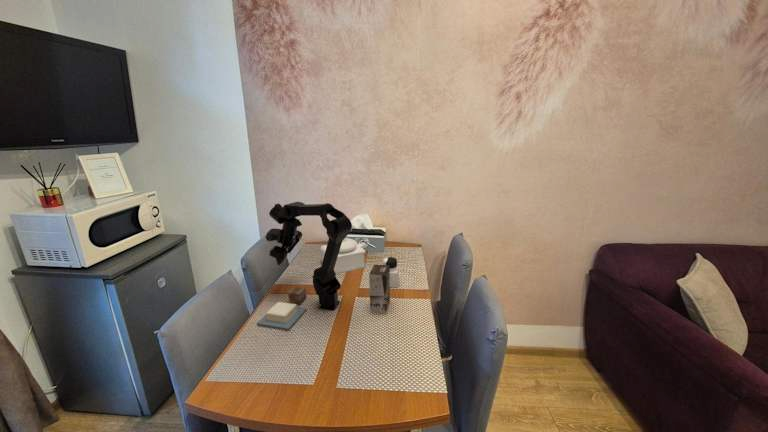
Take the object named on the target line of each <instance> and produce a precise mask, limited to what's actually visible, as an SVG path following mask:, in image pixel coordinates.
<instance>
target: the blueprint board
mask: <svg viewBox="0 0 768 432" xmlns="http://www.w3.org/2000/svg"><path fill="white" fill-rule="evenodd" d="M307 311H308V309H307V307H300V306H298V305H297V304H291V303H289V302H282V301H277V302H276V303H275V304H274V305H273V306H272V307H271V308H270V309H269V310H268V311H266V312H265V315H264V316H263V317H261V319H259V320H258V321H257V322H256V326H257V327H258V326H259V327H262V328H269V329H275V330H280V329H281V331H285V332H286V331H287V332H290V330H291V329H292V328H293V327H294V326H295V325H296V324H297V323H298V321H299V320H301V318H302V317H303V316H304V314H306V312H307Z"/></svg>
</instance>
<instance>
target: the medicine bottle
mask: <svg viewBox="0 0 768 432" xmlns="http://www.w3.org/2000/svg"><path fill="white" fill-rule="evenodd" d="M382 265H390V288H399V282H400V275H399V272H400V271H399V270H400V267H399V266H398V259H397V258H395V257H392V256H387V257H385V258H383V260H382Z"/></svg>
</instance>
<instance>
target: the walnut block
mask: <svg viewBox="0 0 768 432" xmlns="http://www.w3.org/2000/svg"><path fill="white" fill-rule="evenodd" d="M287 296H288V303H291V304H297V306H301V305H302V304H303V303H304V302H305V301H306V300H307V290H306V287H301V286H300V287H299V286H293V288H292V289H290V290H289V291H288V292H287Z"/></svg>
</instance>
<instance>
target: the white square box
mask: <svg viewBox="0 0 768 432" xmlns="http://www.w3.org/2000/svg"><path fill="white" fill-rule="evenodd" d="M326 247H327V244H325V245H321V246H320V258H321V262H323V258H324V255H325V251H326ZM365 254H366V250H365V249H364V248H362V246H360V245H359V243H357V242H356V240H354V239H353V238H348V237H347V236H346V237H345V239H344V240H343V241H342V244H341V247H340V250H339V254H338V257H337V260H336V264H335V267H334V271H335V273H336V275H337V274H343V273H346V272H350V271H356V270H360V269H364V268H366V255H365Z"/></svg>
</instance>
